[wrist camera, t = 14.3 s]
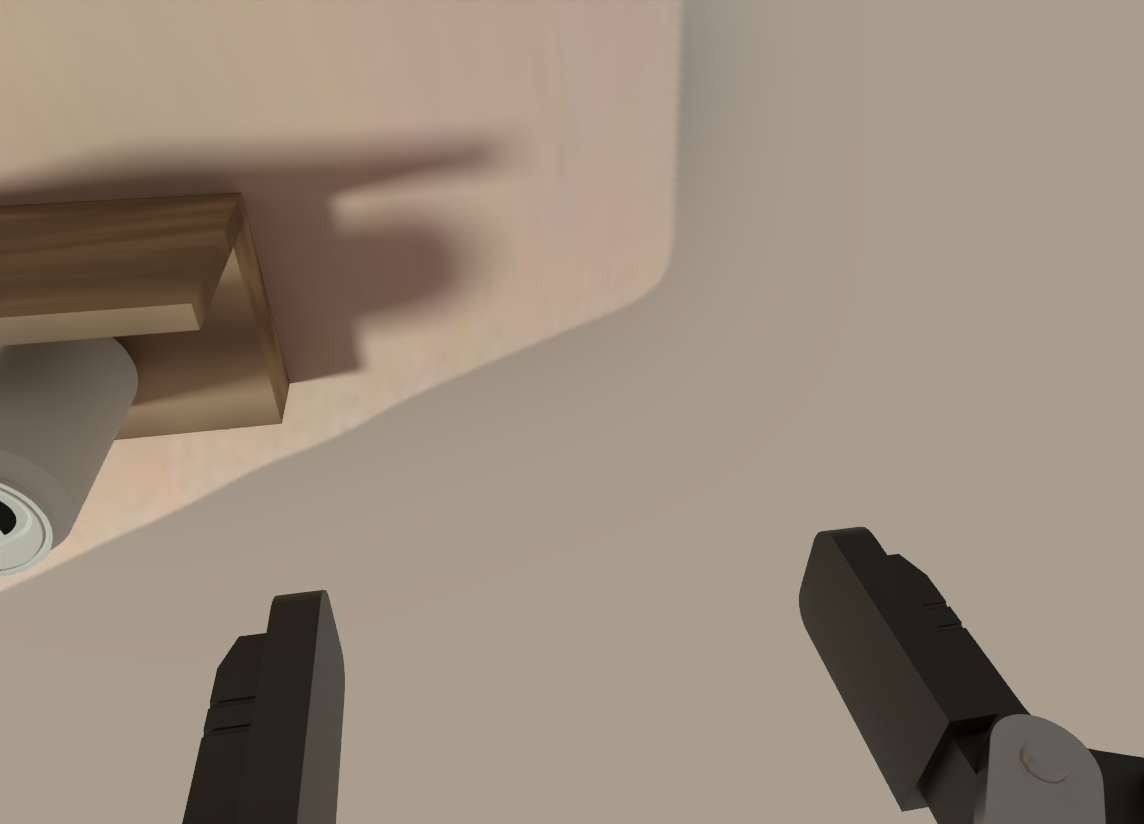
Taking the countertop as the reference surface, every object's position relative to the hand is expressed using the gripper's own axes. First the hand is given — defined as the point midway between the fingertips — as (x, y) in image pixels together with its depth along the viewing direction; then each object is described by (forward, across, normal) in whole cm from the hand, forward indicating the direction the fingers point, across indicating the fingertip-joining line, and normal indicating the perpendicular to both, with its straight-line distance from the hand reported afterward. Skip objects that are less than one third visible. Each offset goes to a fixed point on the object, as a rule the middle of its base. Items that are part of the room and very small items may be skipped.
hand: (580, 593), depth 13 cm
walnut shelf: (+33, +20, +11) cm, 40 cm away
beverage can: (+29, +21, +12) cm, 38 cm away
